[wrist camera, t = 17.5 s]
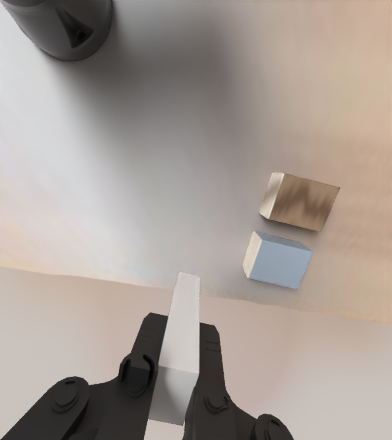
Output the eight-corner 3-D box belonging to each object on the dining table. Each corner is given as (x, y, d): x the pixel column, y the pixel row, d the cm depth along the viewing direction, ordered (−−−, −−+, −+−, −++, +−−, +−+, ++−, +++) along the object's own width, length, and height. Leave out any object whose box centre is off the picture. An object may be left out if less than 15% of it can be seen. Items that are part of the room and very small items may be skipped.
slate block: (260, 239, 35) (313, 251, 35) (253, 231, 40) (299, 242, 40) (247, 278, 37) (297, 289, 37) (241, 265, 42) (286, 275, 42)
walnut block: (282, 173, 32) (340, 187, 32) (272, 172, 37) (321, 185, 37) (267, 218, 34) (321, 232, 34) (258, 212, 39) (306, 224, 39)
